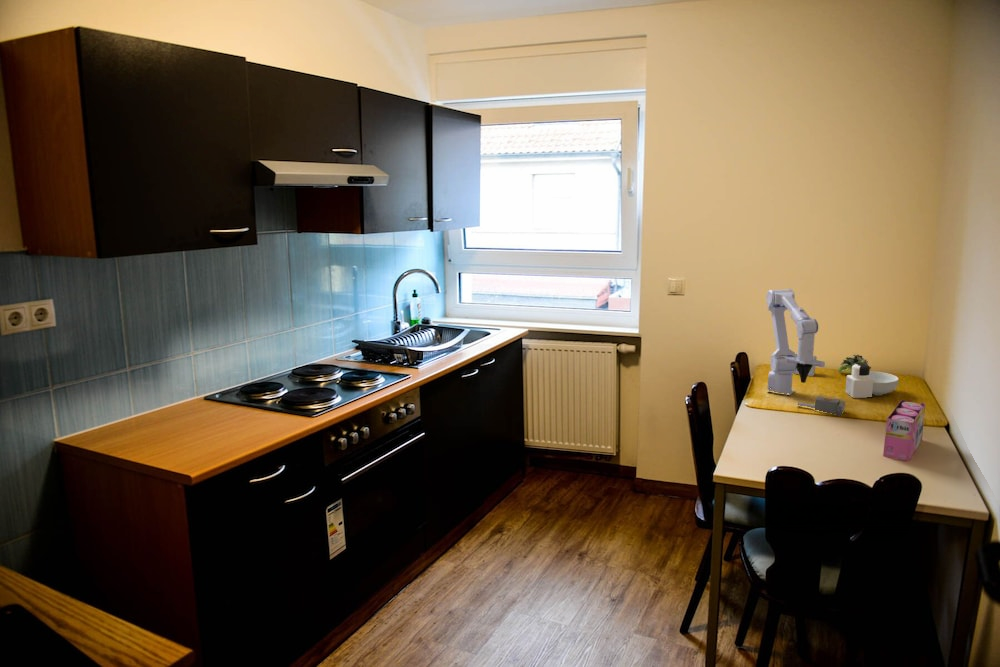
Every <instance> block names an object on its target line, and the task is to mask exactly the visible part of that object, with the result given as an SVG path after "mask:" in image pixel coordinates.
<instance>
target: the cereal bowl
mask: <svg viewBox="0 0 1000 667" xmlns="http://www.w3.org/2000/svg"><path fill="white" fill-rule="evenodd" d="M869 378H871V379H872V380H873V392H872V394H874V395H873V396H884V395H886V394H888V393H893V392H894V391H895V390H896V389H897V387H898V385H899V381H900V380H899V377H898V376H896V375H894V374H891V373H887V372H882V371H874V370H873V371H871V370H870V372H869ZM883 394H884V395H883Z"/></svg>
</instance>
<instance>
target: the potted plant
mask: <svg viewBox="0 0 1000 667" xmlns="http://www.w3.org/2000/svg"><path fill="white" fill-rule="evenodd" d="M868 362H869V361H868V360H867V359H864V358H863V355H860V354H853V355H852V356H845V359H843V360H842V362H841V364H840V367H839V368H838V369H837V372H838V373H839V374H841V373H843V372H845V371H848V370H849V373H850V375H852V366H853V365H855V364H864V365H867V366H869V367H870V370H872V367H871V366H870V365H869V363H868Z"/></svg>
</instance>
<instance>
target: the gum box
mask: <svg viewBox="0 0 1000 667" xmlns="http://www.w3.org/2000/svg"><path fill="white" fill-rule="evenodd" d="M925 407H926V403H924V402H921V403H920V404H919V403H916V402H910V401H907V400H906V399H901V400H900V401H898V404H897V405H896V407H895V408H894V409H893V411H892V412H891V413H890V414H889V415H888V416H887V418H886V423H885V425H886V426H885V427H886V428H885V433H884V434H885V435H884V444H883V445H884V446H883V453H882V456H883V457H886V456H887V457H886V458H890V457H891V459H894V460H901V461H906V462H909V461H910V460H911V459H912V457H913V456H914V455H913V454H915V452H916V450H918V447H919V446H920V444H921V442H922V440H923V433H924V421H925V412H926V411H925V410H926V408H925Z"/></svg>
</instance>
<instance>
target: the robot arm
mask: <svg viewBox="0 0 1000 667" xmlns="http://www.w3.org/2000/svg"><path fill="white" fill-rule="evenodd" d="M765 298H766V306H767V310H768V311H770V314H771V320H772V327H773V335H774V342H775V349H776V350H774V352H772V354H770V362H769V363H770V364H769V365H770V369H771V370H770V371H769V372H768V376H767V389H766V390H769V391H774V392H778V393H784V394H787V393H789V394H791V395H792V394H794V392H795V389H793V376H794V373H795V371H796V370H798V372H799V374H798V375H799V377H800V383H803V384H805V383H806V382H807V378H808V377H809V376H808V373H809V371H810V370H811V368H812V366H815V367H820V368H825V366H826V361H821V360H818V359H817V360H814V359H813V356H814V352H815V351H814V347H815V338H816V337H815V336H816V334H817V333H818V331H819V323H818V322H819V321H817V319H816V318H812V317H810V316H809V314H808V313H807V312H806V310H805V309H804V308H803V307H799V304H798V303H797V302H796V300H795V291H793V289H791V288H788V289H786V288H785V289H768V291H767V293H766V297H765ZM785 311H789V312H790V318H791V319H792V320H793V322H794V323H795V325H796V333H797V338H798V343H797V353H795V352H794V351H793V350H792V349H790V347H789V340H788V332H787V325H786V319H785V318H786V317H785ZM796 354H798V355H797V358H796ZM770 388H771V389H770Z"/></svg>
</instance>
